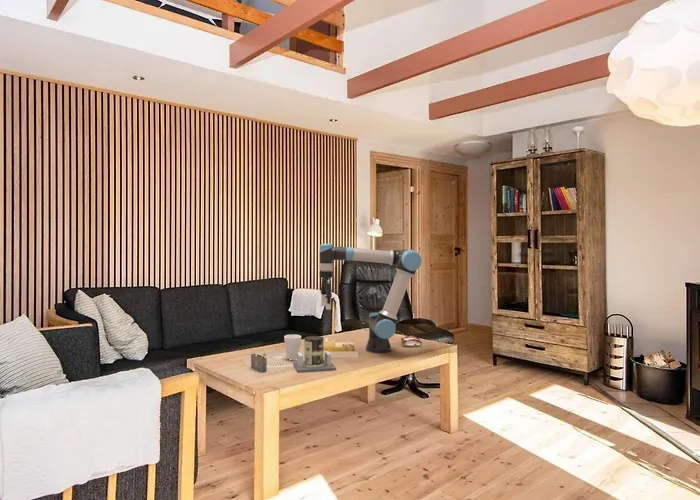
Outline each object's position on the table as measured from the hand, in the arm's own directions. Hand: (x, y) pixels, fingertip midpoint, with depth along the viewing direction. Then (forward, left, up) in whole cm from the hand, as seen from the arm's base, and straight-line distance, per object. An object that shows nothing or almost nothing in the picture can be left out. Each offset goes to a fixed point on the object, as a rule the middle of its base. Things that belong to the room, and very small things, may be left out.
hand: (325, 307), depth 275 cm
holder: (+10, +19, -29) cm, 36 cm away
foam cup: (+19, 0, -29) cm, 35 cm away
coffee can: (+10, +18, -27) cm, 34 cm away
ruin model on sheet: (+39, +17, -29) cm, 52 cm away
